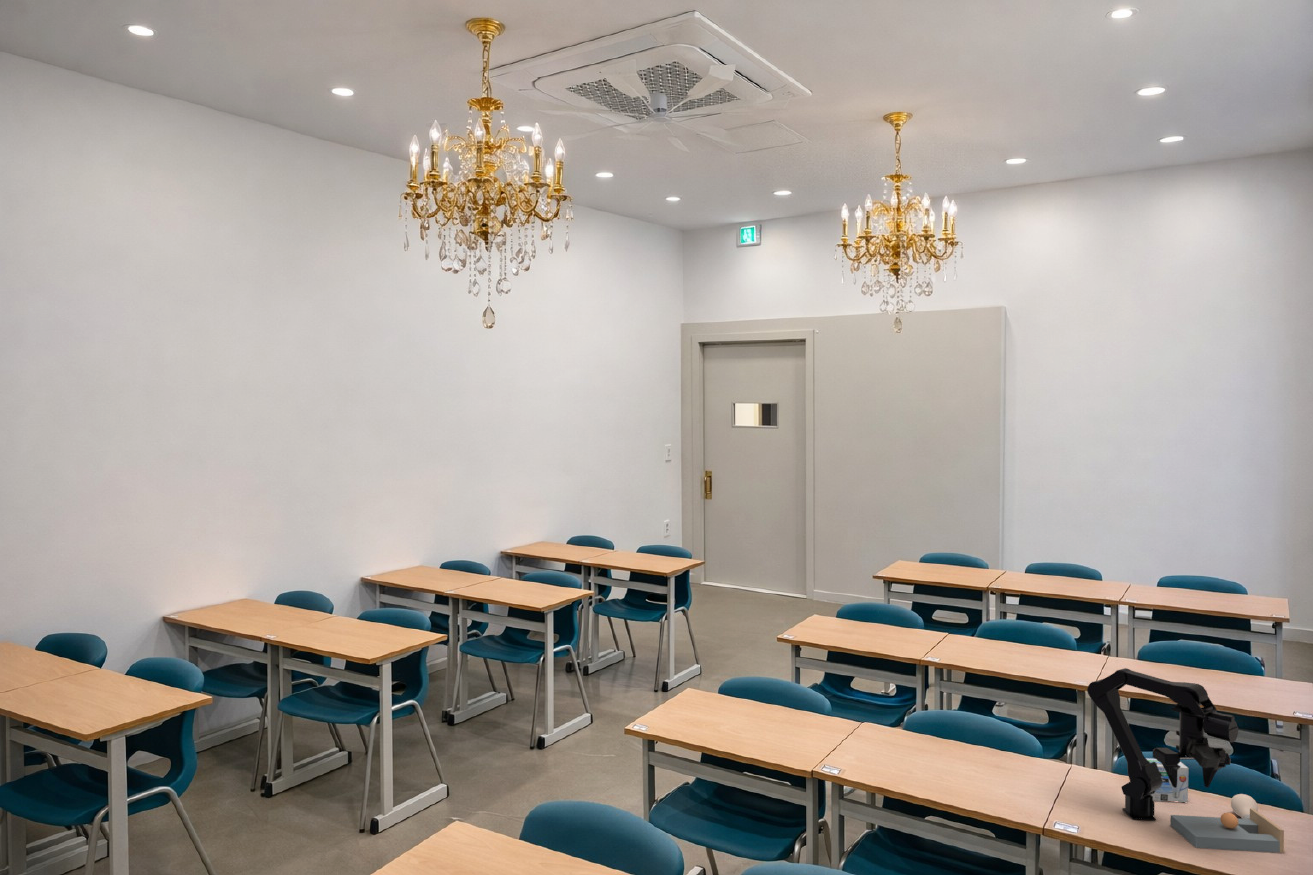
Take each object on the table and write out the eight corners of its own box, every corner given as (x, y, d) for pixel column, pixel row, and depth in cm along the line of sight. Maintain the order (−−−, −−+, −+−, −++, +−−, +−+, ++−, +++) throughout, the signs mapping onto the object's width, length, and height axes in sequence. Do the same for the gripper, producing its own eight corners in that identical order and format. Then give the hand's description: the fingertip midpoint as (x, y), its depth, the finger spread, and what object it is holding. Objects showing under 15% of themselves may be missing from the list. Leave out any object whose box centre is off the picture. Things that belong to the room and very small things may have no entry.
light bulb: (1263, 813, 232) (1253, 788, 242) (1235, 813, 235) (1226, 788, 245) (1266, 834, 233) (1256, 808, 243) (1238, 833, 236) (1230, 808, 246)
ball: (1225, 830, 225) (1225, 816, 225) (1217, 824, 229) (1217, 809, 229) (1241, 831, 225) (1241, 816, 225) (1232, 824, 229) (1232, 810, 229)
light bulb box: (1151, 801, 250) (1151, 765, 250) (1141, 791, 257) (1141, 757, 257) (1189, 803, 249) (1189, 767, 249) (1178, 794, 256) (1178, 759, 256)
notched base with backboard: (1195, 847, 222) (1195, 825, 222) (1170, 825, 234) (1170, 804, 235) (1283, 852, 219) (1283, 829, 219) (1253, 829, 232) (1253, 808, 232)
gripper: (1179, 741, 221) (1178, 800, 221) (1246, 741, 222) (1245, 799, 222) (1151, 726, 232) (1150, 782, 232) (1216, 726, 233) (1214, 782, 233)
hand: (1190, 786), depth 229 cm, fingers open, 9 cm apart
